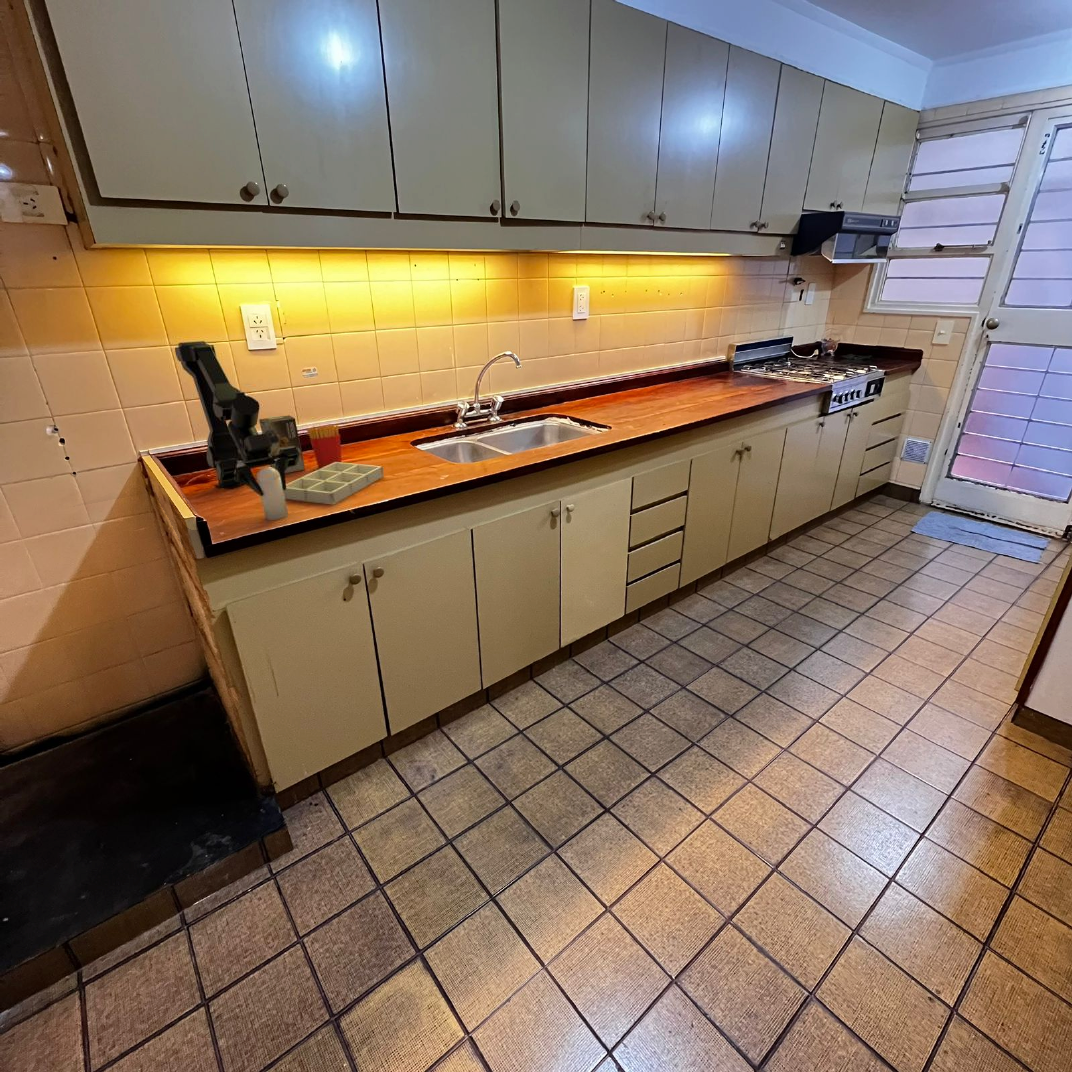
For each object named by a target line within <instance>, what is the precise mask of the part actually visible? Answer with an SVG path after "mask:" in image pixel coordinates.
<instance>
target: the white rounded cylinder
mask: <svg viewBox="0 0 1072 1072" xmlns="http://www.w3.org/2000/svg"><path fill="white" fill-rule="evenodd" d="M256 481H257V483H258V484H259V486H260V488H261V490H262V492H263V496H260V499H261V503H262V507H263V508H262V509H263V512H264V517H265V519H266V520H268V521H275V520H276V521H278V520H282V519H285V518H287V517H288V516H289V512H288V507H287V502H286V499H285V496H284V491H283V487H282V482H281V477H280V474H279V472H278V471H277V470H276V469H275V468H272V467H270V466H265V467H264V466H263V467H261V468H260V469H259V470H258V472H257V473H256Z"/></svg>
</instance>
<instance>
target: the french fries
mask: <svg viewBox="0 0 1072 1072" xmlns="http://www.w3.org/2000/svg"><path fill="white" fill-rule="evenodd" d="M306 431H307V435H308V436H309V440H310V443H311V446H312V450H313V454H314V456H315V457H314V458H315V461H316V464H317V467H318V468H319V469H321V468H323V467H325V466H327V465H330V464H332V463H334V462H341V463H343V462H342V449H341V448H342V447H341V446H342V445H341V434H339V425H333V424H326V425H318V427H316V426H312V428H307V429H306ZM319 469H318V470H319Z"/></svg>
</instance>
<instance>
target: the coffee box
mask: <svg viewBox="0 0 1072 1072" xmlns="http://www.w3.org/2000/svg"><path fill="white" fill-rule="evenodd" d="M258 421H259V424H260V429H261V434H264V433H265V432H266V431H267V430H272V429H274V431H275V433H276V434H277V437H278V442H277V443H276V444H272V445H273V446H272V447H270V449H271V453H269V456H274V455H279V451H280V449H281V448H286V447H292V446H294V447H296V448H298V450H299V452H300V457H299V460H298V463H297V465H296V466H293V467H289V468H287V470H286V471H285V474H287V473H293V472H298V471H303V470H306V466H305V461H304V456H303V452H302V451H303V450H302V447H301V446H302V445H301V441H300V436H299V433H298V427H297V423H296V422H297V421H296V418H295V417H293V416H291V415H282V416H275V417H268V418H267V417H266V418H260V419H259V418H258ZM268 467H272V468H275V466H274V465H273V464H271V465H268Z"/></svg>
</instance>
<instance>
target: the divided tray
mask: <svg viewBox="0 0 1072 1072" xmlns="http://www.w3.org/2000/svg"><path fill="white" fill-rule="evenodd" d="M341 462H342V461H341ZM341 462H334V463H332V464H330V465H327V466H325V467H323V468H321V469H316V470H315V471H312V472H310V473H307V474H306V475H304V476H300V477H299V478H297V479H295V480H293V481H290V482H288V483H286V490H283V491H284V496H285V500H293V501H299V502H308V503H316V504H317V503H318V504H326V505H332V506H333V505H335V504H337V503H339V502H340V501H343V500H344V499H346V498H347V497H349V496H352V495H353V494H354V493H357V492H359V491H360V490H362V489H364V488H366V487H367V486H369V485H370V484H371V485H372V484H373V483H374V482H377V481H378V480H380V479H382V478H383V477H384V469H383V466H382V465H371V464H363V463H362V464H361V463H350V462H349V463H348V462H342V463H341Z"/></svg>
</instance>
